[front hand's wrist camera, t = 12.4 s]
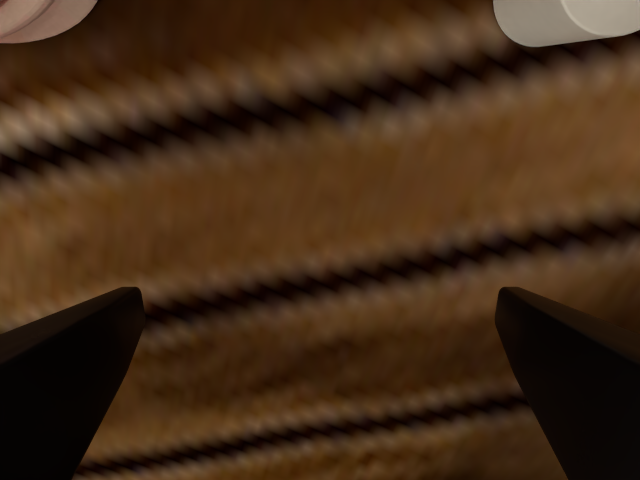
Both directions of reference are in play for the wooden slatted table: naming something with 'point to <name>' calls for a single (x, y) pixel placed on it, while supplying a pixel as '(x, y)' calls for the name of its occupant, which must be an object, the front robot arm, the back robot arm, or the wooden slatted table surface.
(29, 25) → the anatomical model
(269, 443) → the wooden slatted table surface
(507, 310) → the front robot arm
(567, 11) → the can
